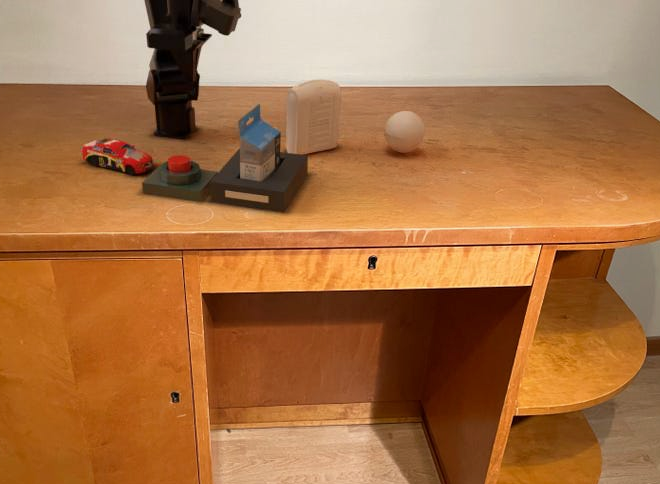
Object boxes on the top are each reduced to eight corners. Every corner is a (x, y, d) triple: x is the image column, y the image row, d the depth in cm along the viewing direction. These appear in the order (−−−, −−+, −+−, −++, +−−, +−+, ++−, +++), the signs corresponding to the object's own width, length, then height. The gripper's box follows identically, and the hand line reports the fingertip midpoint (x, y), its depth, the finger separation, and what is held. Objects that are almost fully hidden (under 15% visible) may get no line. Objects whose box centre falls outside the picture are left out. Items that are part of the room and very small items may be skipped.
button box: (142, 193, 114) (140, 173, 111) (162, 174, 120) (160, 154, 118) (201, 202, 112) (200, 181, 110) (218, 182, 118) (217, 162, 116)
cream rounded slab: (327, 140, 134) (331, 73, 127) (341, 148, 131) (345, 79, 124) (282, 150, 130) (282, 81, 122) (294, 158, 127) (296, 88, 119)
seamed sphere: (413, 142, 135) (418, 104, 130) (427, 157, 129) (433, 117, 125) (363, 145, 133) (367, 106, 128) (375, 161, 127) (379, 120, 123)
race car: (160, 168, 122) (158, 145, 119) (141, 179, 118) (138, 156, 115) (99, 152, 126) (96, 130, 124) (79, 162, 122) (75, 140, 120)
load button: (165, 172, 113) (164, 162, 112) (173, 164, 116) (172, 153, 114) (186, 175, 112) (185, 165, 111) (194, 167, 115) (193, 156, 114)
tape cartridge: (262, 200, 113) (261, 124, 105) (239, 196, 114) (237, 120, 106) (281, 179, 120) (281, 106, 112) (259, 175, 120) (259, 102, 113)
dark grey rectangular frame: (210, 202, 112) (209, 182, 110) (241, 166, 124) (240, 146, 121) (283, 213, 110) (283, 192, 107) (307, 174, 121) (308, 155, 119)
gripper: (212, -7, 100) (217, 104, 110) (252, -29, 114) (253, 71, 124) (139, -13, 102) (150, 96, 112) (187, -34, 116) (193, 65, 126)
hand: (190, 82), depth 118 cm, fingers closed
